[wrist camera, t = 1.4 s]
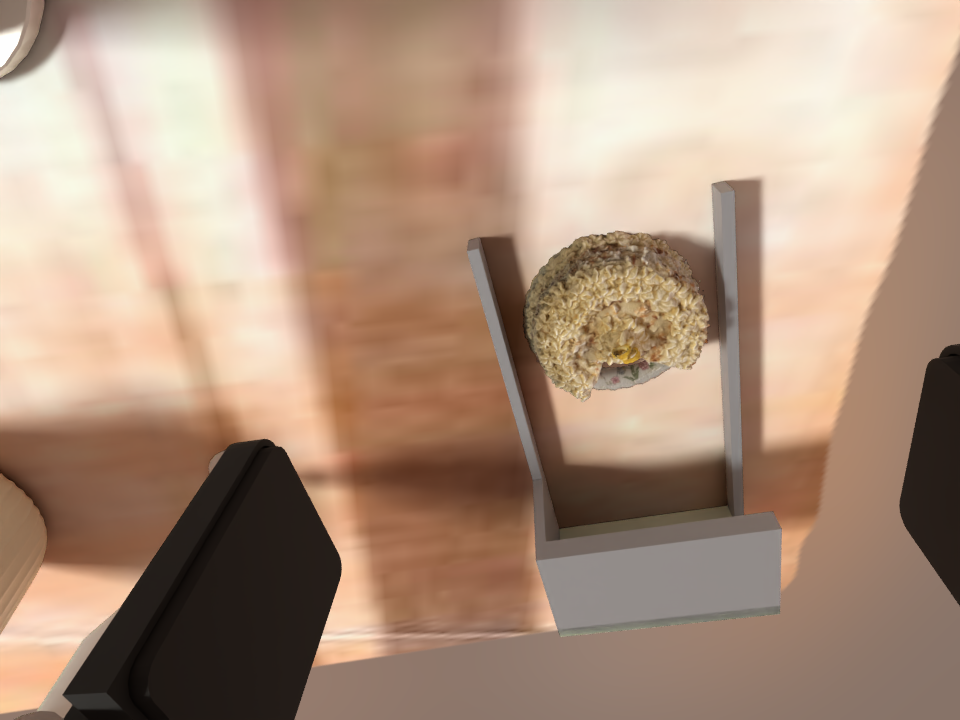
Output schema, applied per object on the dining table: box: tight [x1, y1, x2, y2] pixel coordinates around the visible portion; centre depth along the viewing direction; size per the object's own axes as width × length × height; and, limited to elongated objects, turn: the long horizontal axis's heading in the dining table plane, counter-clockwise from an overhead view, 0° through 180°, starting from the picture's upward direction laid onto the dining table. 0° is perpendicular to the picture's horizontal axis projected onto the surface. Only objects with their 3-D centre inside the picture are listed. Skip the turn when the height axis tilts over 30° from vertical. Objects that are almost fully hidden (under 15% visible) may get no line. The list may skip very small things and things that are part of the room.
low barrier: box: [467, 181, 782, 637], centre depth 32 cm, size 23×13×8 cm, turn 15°
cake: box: [523, 231, 710, 402], centre depth 30 cm, size 10×10×5 cm
